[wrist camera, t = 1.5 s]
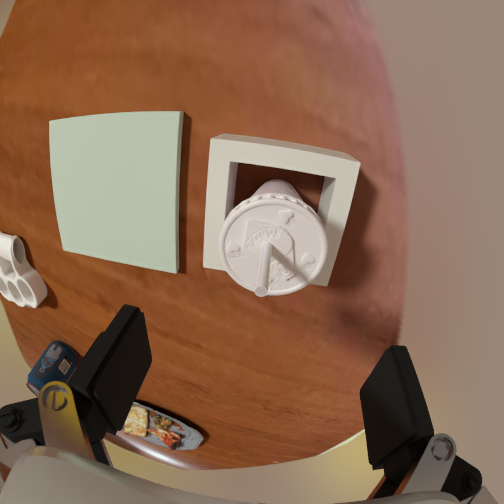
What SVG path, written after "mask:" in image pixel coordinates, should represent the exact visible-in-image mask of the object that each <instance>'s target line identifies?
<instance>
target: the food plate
mask: <svg viewBox="0 0 504 504" xmlns="http://www.w3.org/2000/svg"><path fill="white" fill-rule="evenodd" d="M149 410H150V411H154V412H156V413H158V414H157V415H156V416H155V417H153V418H151V416H150V413H149ZM173 421H175V422H176V423H178V424H180V425H181V426H182V428H183V430H185V429H186V431H181V430H178V428H179V429H180V427H177V428H176V427H175V426H173V425H172V424H171V423H172V422H173ZM153 427H154V428H153ZM122 429H124V430H125V431H124V432H125V434H128V435H133V436H136V437H139V438H141V439H143V440H145V441H147V442H149V443H152V444H155V445H158V446H162V447H166V448H170V450H190V449H195V448H196V447H197V446H198V445H199V444H200V443H201V441H203V439H204V438H203V437H202V435H201V434H200V433H199V432H198V431H197V430H194V429H193V428H191V427H188V426H187V425H185V424H184V423H182V422H180V421H178V420H176V419H174V418H171V417H170V416H167V415H165V414H162V413H160V412H158V411H156V410H153V408H152V409H151V408H148V407H145V406H143V405H140V404H139V403H136V402H134V403H133V405H132V407H131V410H130V412H129V414H128V416H127V419H126V421H125V423H124V426H123V428H122ZM180 431H181V432H180ZM186 432H187V433H186ZM182 433H183V434H182ZM185 433H186V434H185Z"/></svg>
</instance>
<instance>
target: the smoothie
mask: <svg viewBox="0 0 504 504" xmlns="http://www.w3.org/2000/svg"><path fill="white" fill-rule="evenodd" d="M327 250H328V246H327V238H326V230H325V228H324V226H323V223H322V221H321V219H320V217H319V216H318V215H317V214H316V212H315V211H314V210H313V209H312V208H311V207H310V206H308V205H307V204H306V203H304V202H303V200H302V199H301V197H300V196H299V194H298V193H297V191H296V190H295V188H294V187H293V186H292V185H291V184H290V183H288V182H286V181H284V180H280V179H273V180H269V181H267V182H265V183H264V184H263V185H262V186H261V187H260V188H259V189H258V190H257V191H256V192H255V193H254V194H253V195H252V196H251V198H249V199H247V200H244V201H242V202H241V203H240V204H239V205H238V206H236V207H235V208H234V209H233V210H232V211H231V212H230V214H229V215H228V217H227V218H226V220H225V221H224V224H223V228H222V230H221V233H220V237H219V255H220V259H221V262H222V264H223V266H224V268H225V270H226V271H227V273H228V274H229V275H230V276H231V277H232V278H233V279H234V280H235V281H236V282H237V283H238V284H240V285H241V286H243V287H244V288H246V289H248V290H251V291H253V292H255V294H256V295H257V296H260V297H263V296H266V295H284V294H289V293H292V292H295V291H298V290H300V289H302V288H304V287H305V286H307V285H308V284H310V283H311V282H312V281H313V280H314V279H315V278H316V277H317V276H318V275H319V273H320V272H321V270H322V268H323V266H324V264H325V261H326V258H327Z"/></svg>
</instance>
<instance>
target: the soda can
mask: <svg viewBox="0 0 504 504" xmlns="http://www.w3.org/2000/svg"><path fill="white" fill-rule="evenodd" d="M77 365H78V357H77V354H76V353H75V351H74V350H73V349H72V348H71V347H70V346H69V345H68V344H66V343H65V342H63V341H60V340H57V341H53V342H51V343H50V345H49V346H48V347H47V349H46V350H45V351H44V353H43V354H42V356H41V357H40V359H39V360H38V361H37V363H36V364H35V366H34V367H33V369H32V370H31V372H30V373H29V375H28V382H27V386H28V388H29V389H30V390H31V391H32V392H33V393H34V394H35V395H36V396H37V397H38V395H39V392H40V390H41V389H42V387H43V386H44V385H46V384H47V383H50V382H52V381H59V382H63V383H65V384H66V383H67V382H68V380H69V378H70V377H71V375H72V373H73V372H74V370H75V369H76V367H77Z"/></svg>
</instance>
